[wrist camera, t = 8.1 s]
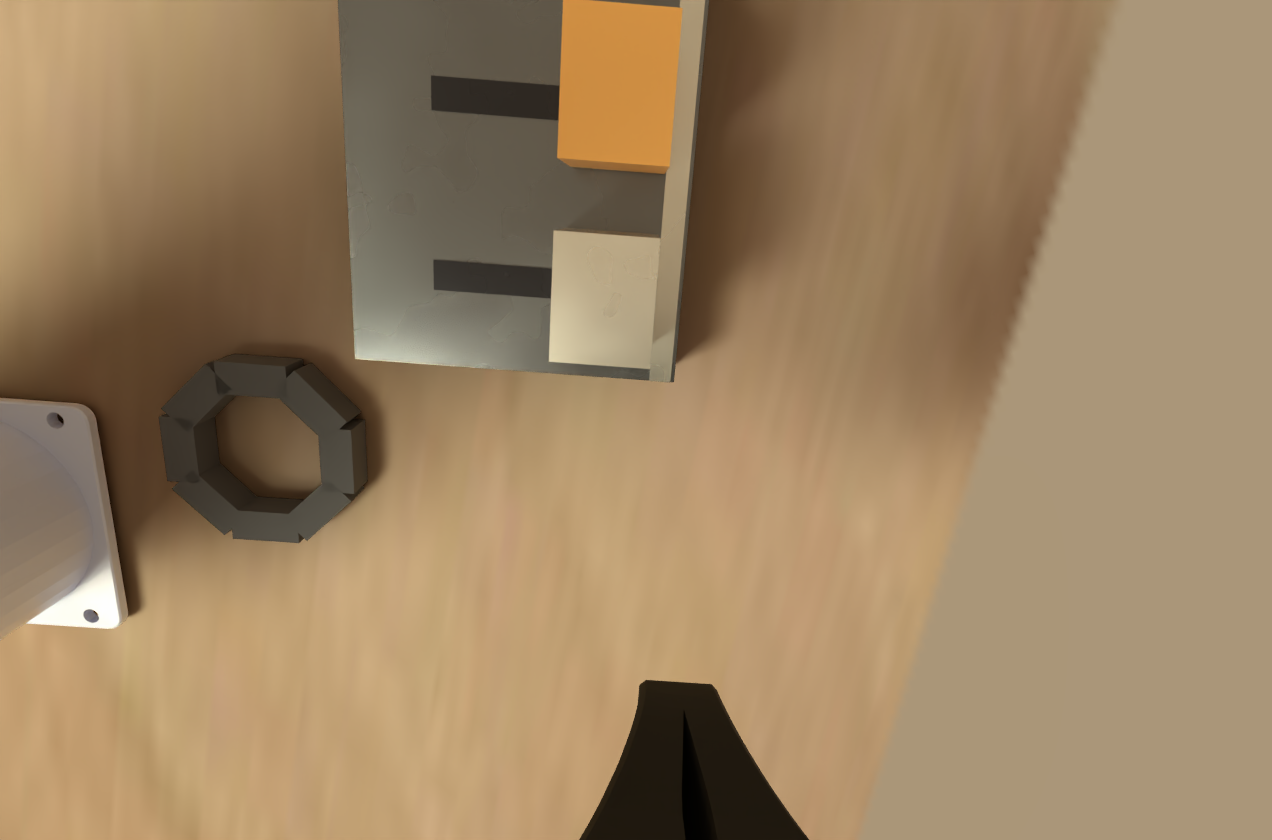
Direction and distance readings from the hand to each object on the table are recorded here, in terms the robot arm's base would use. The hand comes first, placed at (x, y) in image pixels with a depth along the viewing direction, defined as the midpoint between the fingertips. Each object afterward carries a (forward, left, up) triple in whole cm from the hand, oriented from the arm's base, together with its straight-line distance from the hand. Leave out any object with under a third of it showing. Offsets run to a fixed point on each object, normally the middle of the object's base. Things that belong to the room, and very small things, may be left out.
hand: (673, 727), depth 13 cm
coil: (-12, +1, -10) cm, 16 cm away
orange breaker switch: (-2, +12, -8) cm, 14 cm away
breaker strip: (-4, +12, -10) cm, 16 cm away
